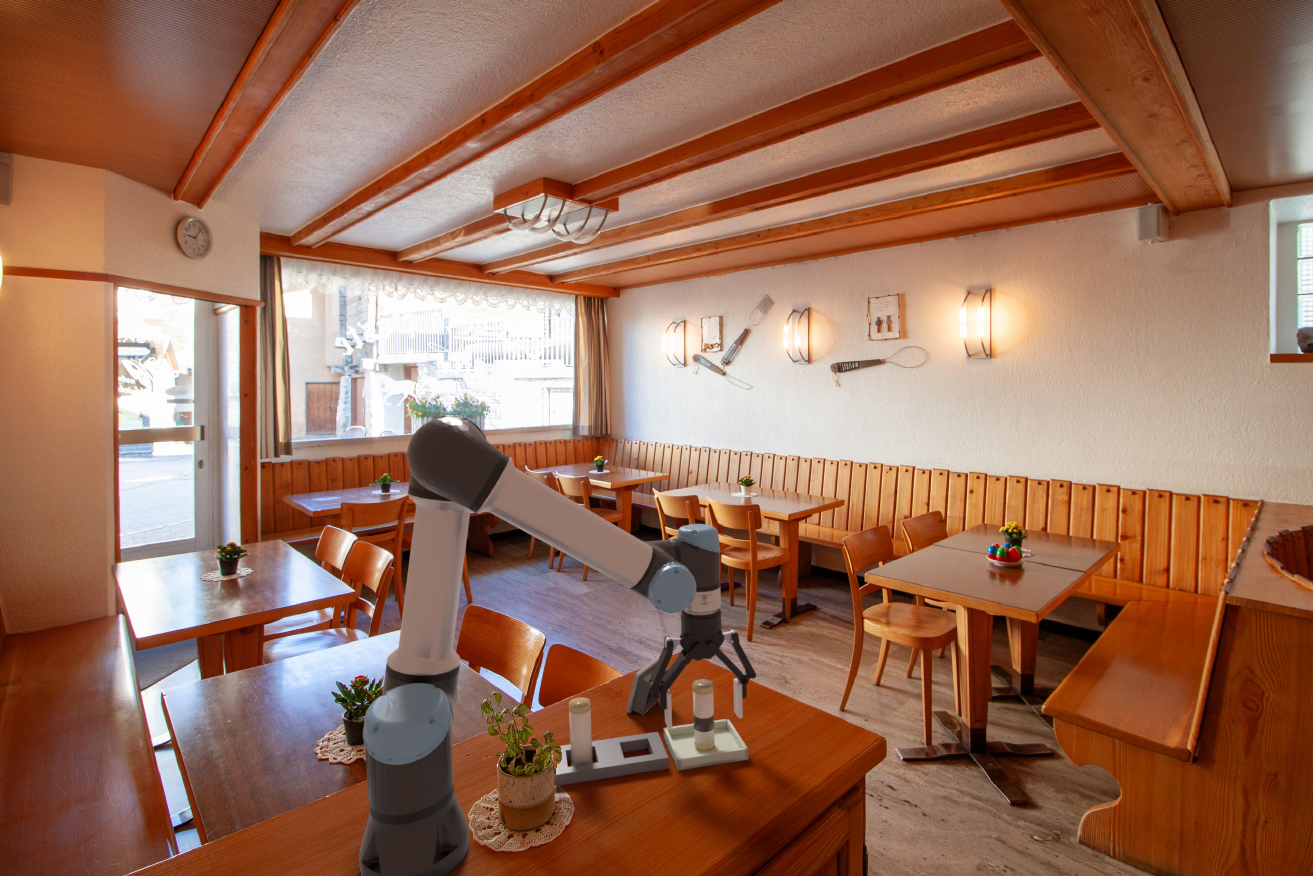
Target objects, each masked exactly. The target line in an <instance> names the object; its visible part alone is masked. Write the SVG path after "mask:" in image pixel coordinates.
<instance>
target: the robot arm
mask: <svg viewBox="0 0 1313 876" xmlns="http://www.w3.org/2000/svg"><path fill="white" fill-rule="evenodd" d="M406 457H407V458H406V461H407V465H408V469H409V471H410V473H409V480H408V481H409V482H408V489H407V490H408V491H407V495H408V497H409V499H411V500H412V502H413V503H414V505H415V514H414V522H413V529H412V535H411V536H412V538H411V546H410V553H409V560H408V562H409V563H408V569H407V570H408V571H407V577H406V585H405V592H404V601H403V609H402V616H401V625H400V633H399V640H398V641H399V642H398V647H397V649H395V650H394V651H393V652H391V653H390V654H389V655H388V656H387V658H386V664H385V665H386V666H385V671H384V680H383V687H382V689H383V690H382V695H379V696H378V697H377V698H375V700H373V702H372V703H371V704H370V705H369V707H368V708H367V710H366V712H365V715H364V723H363V729H362V739H363V746H364V751H365V752H364V753H365V765H366V766H365V768H366V769H365V770H366V778H367V779H366V780H367V781H366V782H367V795H368V810H369V813H368V814H369V815H368V820H367V823H366V826H365V830H364V833H363V838H362V841H361V845H360V849H359V852H358V868H360V870H359V873H360V872H361V874H362V876H445V875H446V874H448V873H449V874H450V873H452V872H453V871H454V870H455V869H456V868H457V867H458V866H459V865H460V863H462V862H463V860H464V859H465V856H466V855H467V852H468V850H469V846H470V835H469V833H470V832H469V824H468V821H467V818H466V817H465V814H464V812H463V810H462V808H461V807H462V806H461V805H460V803H459V800H458V799H457V796H456V794H455V788H454V787H455V786H454V785H455V784H454V766H453V765H454V763H453V740H452V739H453V732H454V731H453V729H454V717H455V708H456V701H457V698H458V697H457V696H458V686H459V685H458V683H459V676H460V666H461V657H460V655H459V654H458V653H457V652H456V650H454V641H455V634H456V625H457V618H458V610H459V602H460V593H461V588H462V579H463V571H464V564H465V562H464V561H465V554H466V547H467V540H468V531H469V524H470V517H471V511H472V512H473V513H475V514H478V515H479V514H481V513H486V512H487V513H490V514H492V515H494V516H496V517H498V518H499V519H500V520H503V521H505V522H507V523H508V524H510V525H512V526H514V527H516V528H517V529H520V530H522V531H523V532H525V533H527V534H528V535H531V536H532V537H534V538H536V539H537V540H540V541H542V542H543V543H545V544H547V545H549V546H550V547H553V548H555V549H556V550H558V551H560V552H562V553H563V554H565V555H567V556H570V557H571V558H573V559H574V560H576V561H578V562H580V563H582V564H584V565H586V566H588V567H589V568H591V569H593V570H595V571H597V572H599V573H601V575H604V576H606V577H608V578H609V579H611V580H613V581H615V582H617V584H618V585H619V586H620V587H626V588H628V589H630V590H631V591H632V592H634V593H635V594H638V595H640V596H642V597H644V599H647V600H648V601H650V602H651V604H652V605H653V606H654V607H655V608H657V609H658V610H660V611H661V612H664V613H668V614H677V613H680V630H681V631H680V632H681V633H680V635H679V637H671V636H670V635H666V636H664V639H663V640H664V641H663V648H662V650H661V653H660V655H659V657H658V658H657V659H658V662H657V664H656V666H655V668H654V671H653V673H652V675H651V677H650V680H649V682H648V684H649V686H650V688H651V690H652V691H653V692H655V691H657V692H659V702H658V704H659V706H660V709H661V710H662V711H664V722H665V725H666V728H667V727H668V729H670V728H672V727H673V712H672V711H673V710H672V709H673V707H672V693H671V691H670V689H671V687H672V685H673V684H674V683H675V681H676V680H677V679H678V677H679V676H680V675H681V673H682V672H683V670H684V669H685V668H686V667H687V666H688V665H690V663H691V662H692V660H695V661H701V660H712V658H714V657H715V656H716V657H717V658H718V660H720V661H721V662H722V663H723V664H724V665H725V666H726V668H728V669H729V670H730V671H731V673H732V674H734V676H736V677H737V678H733V679H732V680H733V681H732V682H733V711H734V714H735V716H737V718H738V719H743V718H744V715H743V711H744V709H743V708H744V707H743V700H744V699H747V696H748V691H747V689H748V688H747V685H748V684H749V682H750V681H749V680H751V679H755V678H756V677H757V673H756V671H755V670H754V667H753V665H752V664H751V662H750V660H749V658H748V657H747V655H746V652H745V651H744V649H743V647H742V645H741V643H740V635H739V633H738V632H737V630H735V629H734V628H731V627H730V628H729V629H728V631H725V632H723V631H722V628H723V627H722V624H723V623H722V610H721V609H720V608H721V607H722V601H721V600H722V597H721V595H722V594H721V592H722V591H721V548H720V537H719V531H718V529H717V528H716V527H715V526H713V525H710V524H704V523H692V524H688V525H682V526H680V527H679V528H678V531H677V535H676V536H677V537H676V538H671V539H662V540H661V539H660V540H650V541H643V540H641V539H640V538H637V537H636V536H635V535H633V534H630V533H629V532H627V531H626V530H624V529H622V528H620V527H619V526H616V525H615V524H613V523H612V522H610V521H608V520H606V519H604V518H603V517H601V516H599V515H598V514H596V513H595V512H593V511H591V510H590V509H587V508H586V507H585V506H582V505H581V504H579V503H577V502H575V501H574V500H572V499H570V498H569V497H567V496H565V495H563V494H562V493H559V492H558V491H557V490H555V489H553V488H551V487H550V486H549V485H546V484H544V483H543V482H541V481H539V480H538V479H535V478H534V477H532V476H531V475H529V474H527V473H525V472H523V471H522V470H520V469H518V468H517V467H515V464H514V462H513V458H512V457H511V456H510V455H508V454H506V453H504V452H502V451H501V450H499V449H498V448H497V447H495V446H494V445H493V444H491V443H490V442H489V441H488V440H487V437H486V435H485V434H484V432H483V430H482V429H481V427H480V426H478V424H477V423H475V422H474V421H472V420H471V419H468V418H467V417H462V416H458V415H449V414H448V415H442V416H437V417H436V418H433V419H431V420H429V421H427V422H426V423H423V424H422V425H421V426H420V427H419V428H418V429H417V430H416V431H415V432H414V434H413V435H412V437H411V439H410V440H409V443H408V446H407V452H406ZM725 641H726V642H727V643H728V644H730V645H731V646H732V648H733V650H734V652H735V654H736V655H737V658H738V660H739V662H740V663H741V665H742V667H743V669H744V670H743V671H742V670H741V669H740V668H739V667H738V666H737V665H736V664H735V663H734V662H733V661H732V660H731V659H730V658H729V657H728V656H727V655H726V653H724V652H723V650H721V646H722V645H723V643H724V642H725ZM678 646H680V647H681V650H680V652H679V653H678V656H677V657H676V659H675V660H674V661H673V663H672V664H671V666H669V663H670V661H671V659H672V657H673V653H674V651H676V649H677V647H678ZM668 666H669V668H668ZM666 668H667V669H668V671H667V672H666V674H665V675H664V673H665V670H666ZM663 675H664V677H663ZM662 677H663V678H662ZM452 870H453V871H452ZM451 871H452V872H451ZM449 874H448V875H449ZM446 876H447V875H446Z"/></svg>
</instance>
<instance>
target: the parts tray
mask: <svg viewBox="0 0 1313 876" xmlns="http://www.w3.org/2000/svg"><path fill="white" fill-rule="evenodd" d="M663 738H664V742H665V743H666V747H667V748H668V751H669V753H670V756H671V757H672V761H673V762H674V765H675V767H676V770H677V771H679V772H680V771H684V770H691V769H696V768H703V767H709V766H715V765H721V764H728V763H735V762H741V761H749V747H748V746H747V745H746V743H745V742H744V740H743V739H742V737H741V736H740V734H739V732H738V731H737V730H736V728H735V727H734V725H733V723H732V721H731V719H729V718H725V719H724V718H723V719H716V720H714V739H715V747H714V749H712V750H710V751H699V750H697V749H696V748H695V747H694V723H689V724H681V725H675V726H672V728H670V729H668V727H667V726H666V727H663Z"/></svg>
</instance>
